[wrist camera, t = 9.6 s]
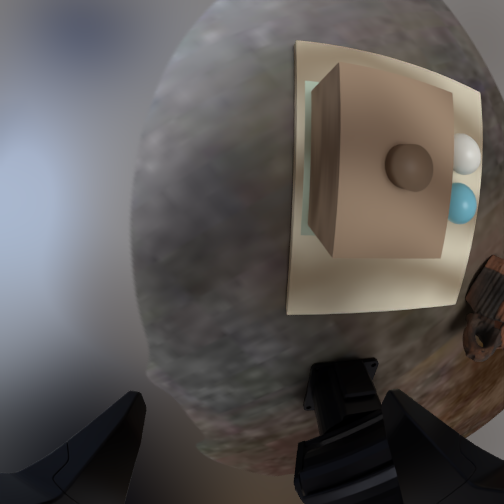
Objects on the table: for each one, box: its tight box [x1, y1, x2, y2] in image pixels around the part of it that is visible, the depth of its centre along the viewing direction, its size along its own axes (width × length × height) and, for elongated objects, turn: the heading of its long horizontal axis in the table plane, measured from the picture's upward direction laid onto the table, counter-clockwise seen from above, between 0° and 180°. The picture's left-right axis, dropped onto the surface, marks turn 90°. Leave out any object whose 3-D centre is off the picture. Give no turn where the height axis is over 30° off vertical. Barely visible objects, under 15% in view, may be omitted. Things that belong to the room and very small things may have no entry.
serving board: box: [286, 40, 482, 315], centre depth 17 cm, size 19×16×1 cm
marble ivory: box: [453, 133, 481, 175], centre depth 14 cm, size 3×3×3 cm
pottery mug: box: [463, 255, 504, 362], centre depth 19 cm, size 12×10×8 cm
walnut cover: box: [308, 62, 454, 259], centre depth 13 cm, size 9×6×7 cm
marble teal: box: [448, 182, 477, 224], centre depth 15 cm, size 3×3×3 cm
